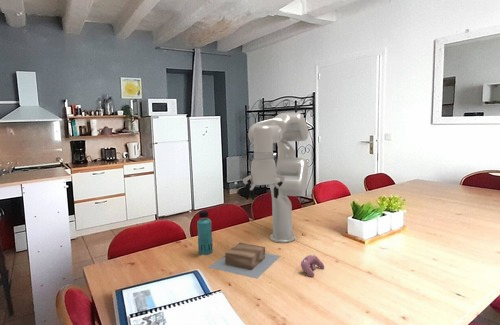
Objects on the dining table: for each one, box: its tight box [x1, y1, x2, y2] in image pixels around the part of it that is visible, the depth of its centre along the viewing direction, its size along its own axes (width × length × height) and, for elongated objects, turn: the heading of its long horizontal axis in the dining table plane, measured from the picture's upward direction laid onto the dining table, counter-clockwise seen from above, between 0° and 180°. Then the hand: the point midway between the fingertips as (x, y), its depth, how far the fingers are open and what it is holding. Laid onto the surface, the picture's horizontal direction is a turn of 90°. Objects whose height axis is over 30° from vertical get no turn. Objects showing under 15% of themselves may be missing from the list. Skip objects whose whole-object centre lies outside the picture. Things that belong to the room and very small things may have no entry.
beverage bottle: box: [196, 210, 214, 256], centre depth 143 cm, size 6×7×20 cm
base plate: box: [208, 252, 282, 279], centre depth 133 cm, size 22×22×2 cm
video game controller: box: [300, 254, 325, 278], centre depth 126 cm, size 10×5×7 cm, turn 141°
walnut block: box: [224, 242, 266, 270], centre depth 133 cm, size 12×12×5 cm
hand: (264, 198), depth 132 cm, fingers open, 9 cm apart
